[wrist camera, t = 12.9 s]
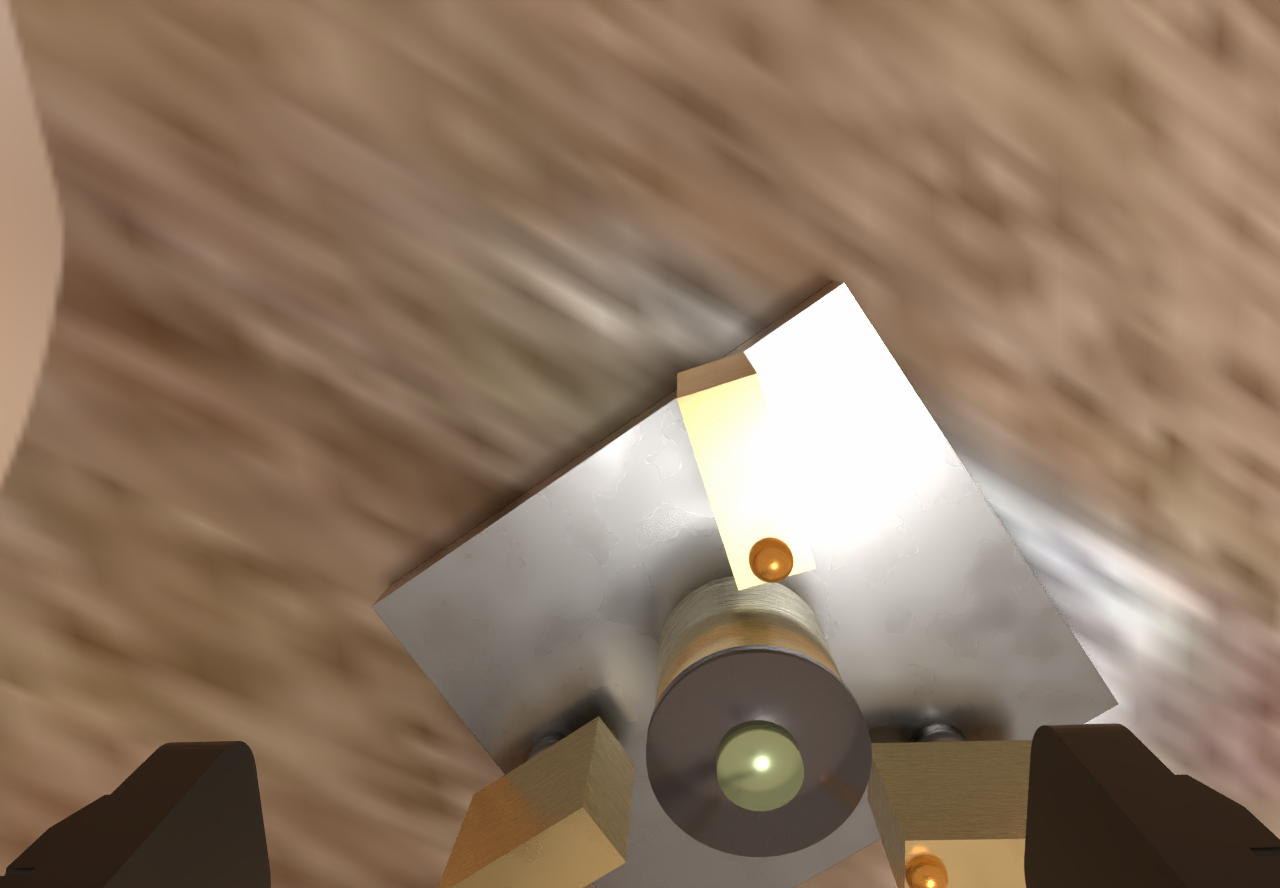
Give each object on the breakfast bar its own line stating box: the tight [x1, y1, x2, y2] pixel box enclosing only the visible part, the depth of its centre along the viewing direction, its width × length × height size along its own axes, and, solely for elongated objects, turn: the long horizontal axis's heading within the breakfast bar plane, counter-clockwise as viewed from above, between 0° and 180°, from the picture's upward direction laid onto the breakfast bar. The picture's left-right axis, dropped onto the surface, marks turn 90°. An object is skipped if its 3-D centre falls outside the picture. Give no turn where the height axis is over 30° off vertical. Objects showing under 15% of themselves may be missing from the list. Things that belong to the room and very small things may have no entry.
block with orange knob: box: [438, 716, 635, 888], centre depth 29 cm, size 2×6×7 cm, turn 125°
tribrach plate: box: [372, 281, 1118, 888], centre depth 29 cm, size 20×18×9 cm
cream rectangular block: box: [677, 352, 816, 590], centre depth 26 cm, size 2×6×7 cm, turn 18°
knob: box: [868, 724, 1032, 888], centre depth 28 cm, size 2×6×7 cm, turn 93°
